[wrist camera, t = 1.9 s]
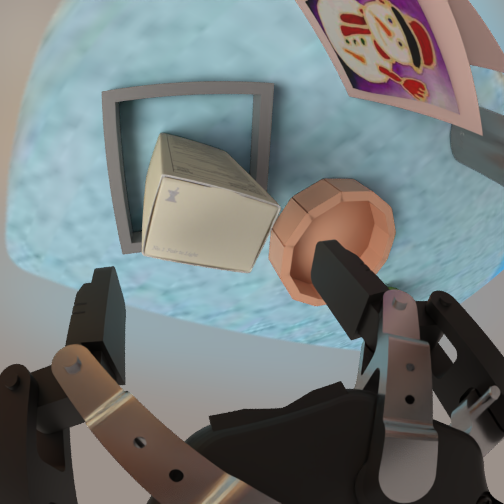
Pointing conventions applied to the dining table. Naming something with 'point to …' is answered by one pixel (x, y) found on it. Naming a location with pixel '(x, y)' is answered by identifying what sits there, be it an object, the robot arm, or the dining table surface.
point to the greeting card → (408, 53)
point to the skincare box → (203, 208)
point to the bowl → (329, 231)
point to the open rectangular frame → (111, 98)
